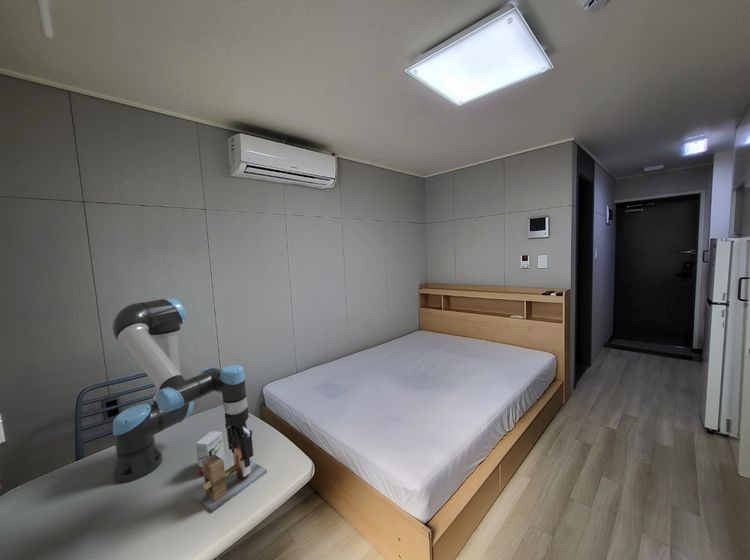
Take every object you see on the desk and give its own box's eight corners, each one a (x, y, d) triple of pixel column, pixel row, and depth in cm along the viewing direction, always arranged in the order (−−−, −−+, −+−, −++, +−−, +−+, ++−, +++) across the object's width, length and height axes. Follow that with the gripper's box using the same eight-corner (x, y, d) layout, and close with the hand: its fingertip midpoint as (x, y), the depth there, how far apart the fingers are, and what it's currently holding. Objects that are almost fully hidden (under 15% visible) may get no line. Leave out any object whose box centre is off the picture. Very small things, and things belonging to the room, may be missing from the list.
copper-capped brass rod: (202, 497, 99) (198, 467, 98) (245, 468, 111) (242, 441, 110) (209, 503, 96) (205, 472, 95) (252, 473, 109) (249, 445, 108)
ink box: (209, 474, 111) (206, 444, 110) (198, 473, 112) (195, 443, 111) (225, 458, 120) (222, 431, 119) (215, 457, 121) (211, 430, 120)
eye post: (197, 498, 100) (192, 462, 99) (251, 462, 116) (248, 431, 115) (212, 512, 94) (207, 473, 93) (267, 472, 111) (263, 439, 110)
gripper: (213, 408, 108) (220, 469, 110) (240, 421, 98) (247, 488, 100) (233, 399, 114) (239, 457, 116) (260, 411, 104) (266, 473, 106)
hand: (242, 471), depth 108 cm, fingers closed on copper-capped brass rod, 4 cm apart
